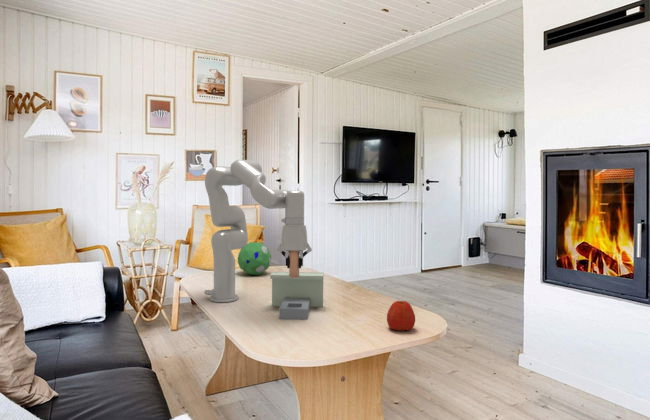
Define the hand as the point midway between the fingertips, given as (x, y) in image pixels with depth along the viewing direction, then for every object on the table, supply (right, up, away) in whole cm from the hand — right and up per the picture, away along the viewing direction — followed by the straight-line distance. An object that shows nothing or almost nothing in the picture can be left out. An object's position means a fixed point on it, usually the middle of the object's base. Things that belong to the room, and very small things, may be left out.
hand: (294, 267), depth 174 cm
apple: (+40, -21, -14) cm, 47 cm away
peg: (0, -4, 0) cm, 4 cm away
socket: (0, -19, +4) cm, 20 cm away
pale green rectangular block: (0, -19, +12) cm, 22 cm away
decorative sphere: (-29, -15, +82) cm, 88 cm away
